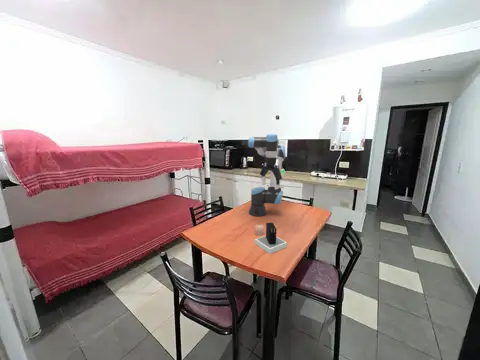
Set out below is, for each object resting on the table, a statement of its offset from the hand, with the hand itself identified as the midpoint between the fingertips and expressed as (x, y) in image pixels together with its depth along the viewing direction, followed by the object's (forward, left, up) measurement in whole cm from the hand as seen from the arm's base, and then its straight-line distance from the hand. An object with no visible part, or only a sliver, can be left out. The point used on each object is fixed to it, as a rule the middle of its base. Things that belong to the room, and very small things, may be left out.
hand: (269, 187), depth 143 cm
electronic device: (+19, -15, -29) cm, 37 cm away
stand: (+19, -15, -32) cm, 40 cm away
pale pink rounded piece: (+3, -11, -32) cm, 34 cm away
